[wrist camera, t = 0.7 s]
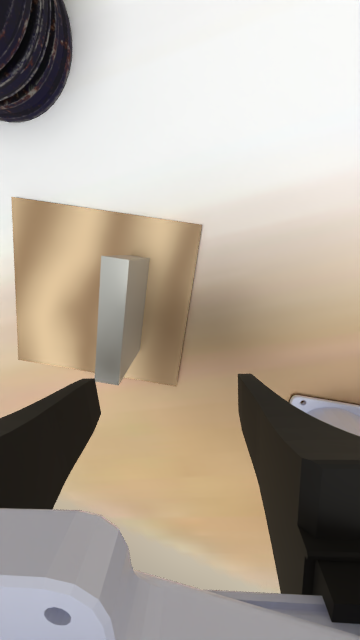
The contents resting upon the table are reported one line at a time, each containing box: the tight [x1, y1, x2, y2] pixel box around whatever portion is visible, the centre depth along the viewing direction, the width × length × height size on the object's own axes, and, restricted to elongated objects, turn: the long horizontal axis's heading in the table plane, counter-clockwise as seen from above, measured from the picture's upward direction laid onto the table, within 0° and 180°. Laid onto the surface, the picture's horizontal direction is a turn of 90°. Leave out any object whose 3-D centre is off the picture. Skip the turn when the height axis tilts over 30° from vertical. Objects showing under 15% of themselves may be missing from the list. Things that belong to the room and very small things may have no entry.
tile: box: [95, 255, 150, 385], centre depth 18 cm, size 2×8×6 cm, turn 172°
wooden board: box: [12, 197, 202, 386], centre depth 21 cm, size 15×14×1 cm
